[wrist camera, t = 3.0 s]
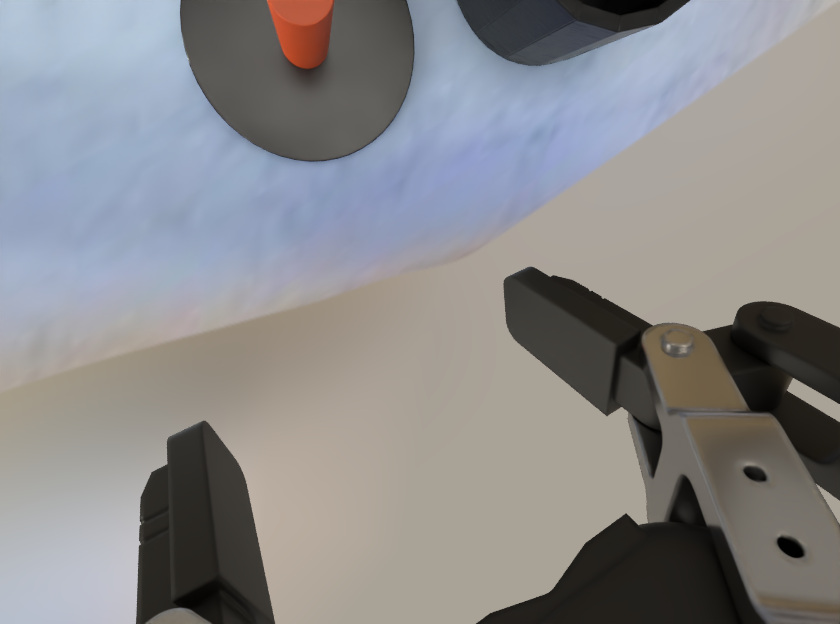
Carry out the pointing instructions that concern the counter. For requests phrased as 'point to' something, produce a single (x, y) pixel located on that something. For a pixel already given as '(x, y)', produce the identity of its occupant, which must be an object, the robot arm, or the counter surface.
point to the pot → (559, 25)
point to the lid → (302, 69)
